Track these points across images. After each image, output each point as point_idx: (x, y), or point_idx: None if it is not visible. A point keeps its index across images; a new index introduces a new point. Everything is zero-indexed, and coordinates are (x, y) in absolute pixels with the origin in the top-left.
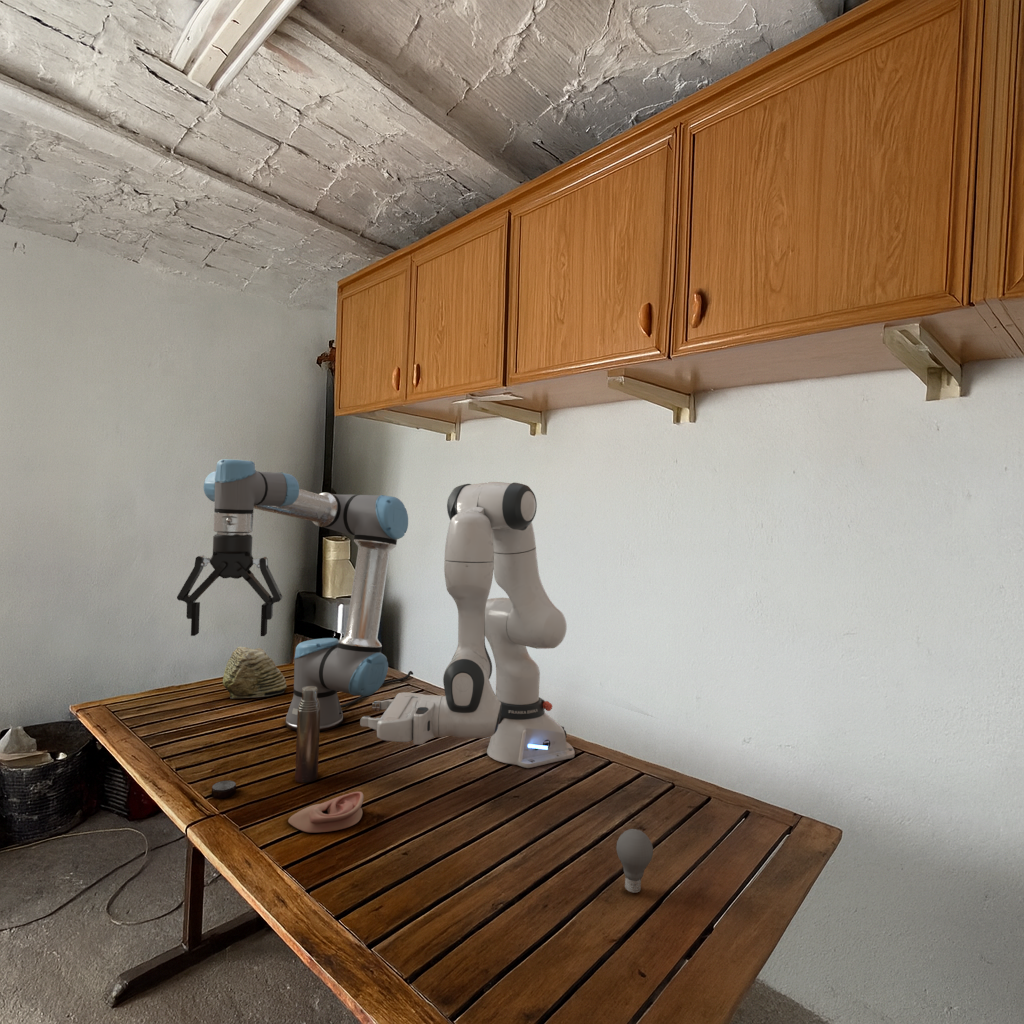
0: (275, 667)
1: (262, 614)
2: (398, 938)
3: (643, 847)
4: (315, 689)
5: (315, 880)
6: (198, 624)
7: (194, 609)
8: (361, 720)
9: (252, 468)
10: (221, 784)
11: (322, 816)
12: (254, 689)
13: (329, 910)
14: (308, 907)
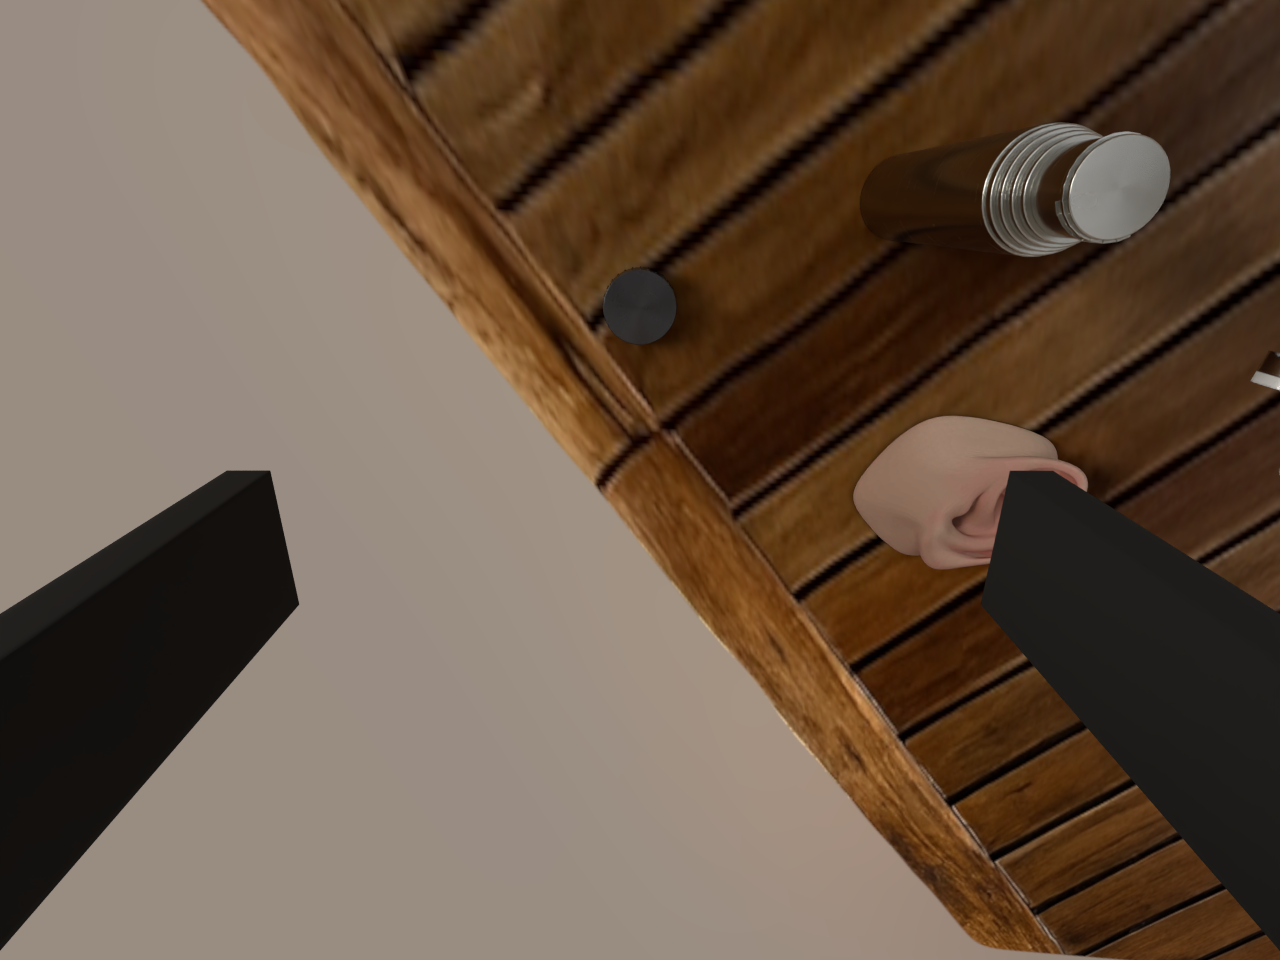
0: None
1: (1169, 798)
2: (1040, 848)
3: None
4: (1151, 217)
5: (916, 711)
6: (210, 540)
7: (57, 865)
8: (1273, 388)
9: None
10: (629, 301)
11: (954, 560)
12: None
13: (938, 785)
14: (902, 776)
